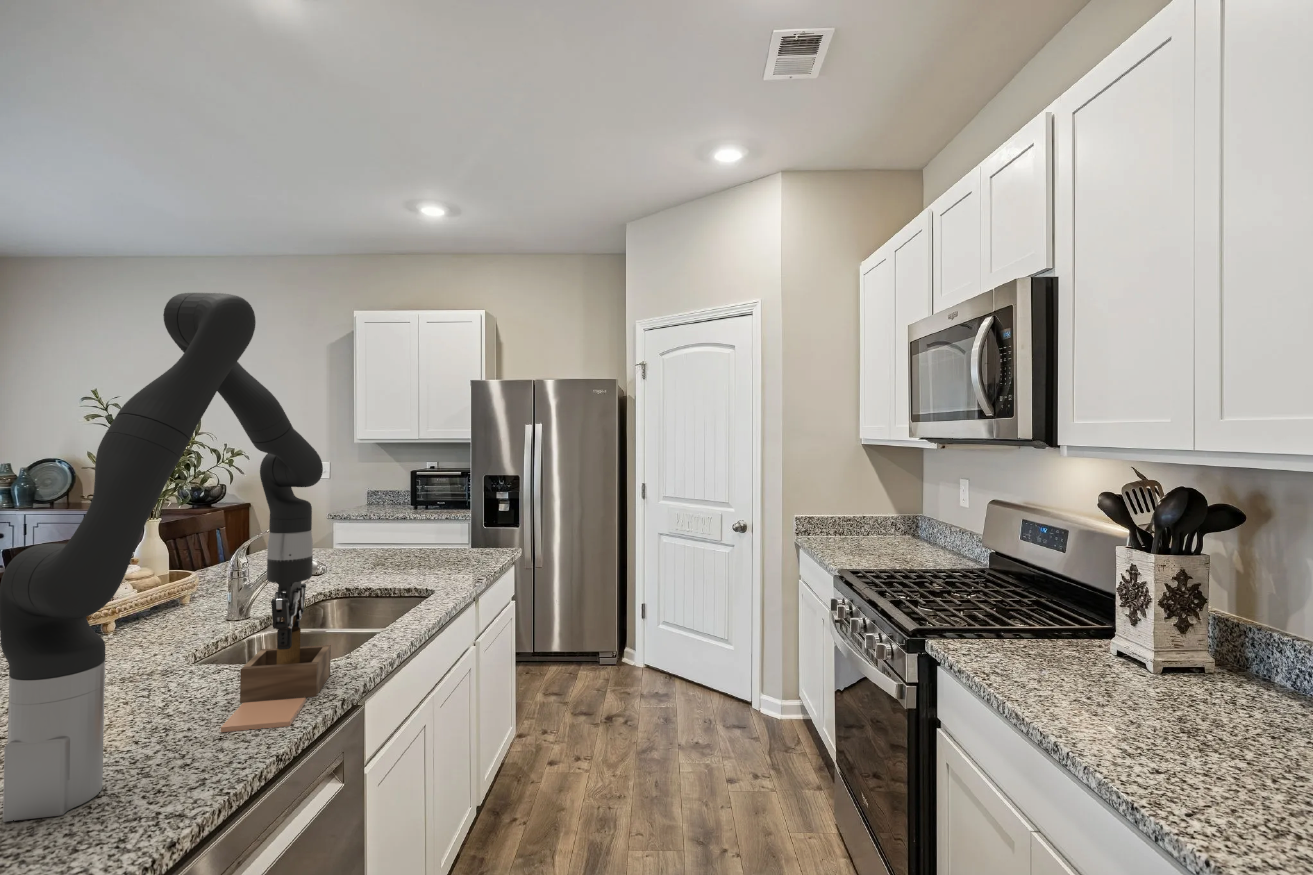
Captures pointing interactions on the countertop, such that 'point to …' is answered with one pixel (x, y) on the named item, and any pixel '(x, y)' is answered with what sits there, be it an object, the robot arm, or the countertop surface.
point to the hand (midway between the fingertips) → (288, 643)
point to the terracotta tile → (264, 714)
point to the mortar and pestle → (294, 651)
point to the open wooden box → (285, 675)
